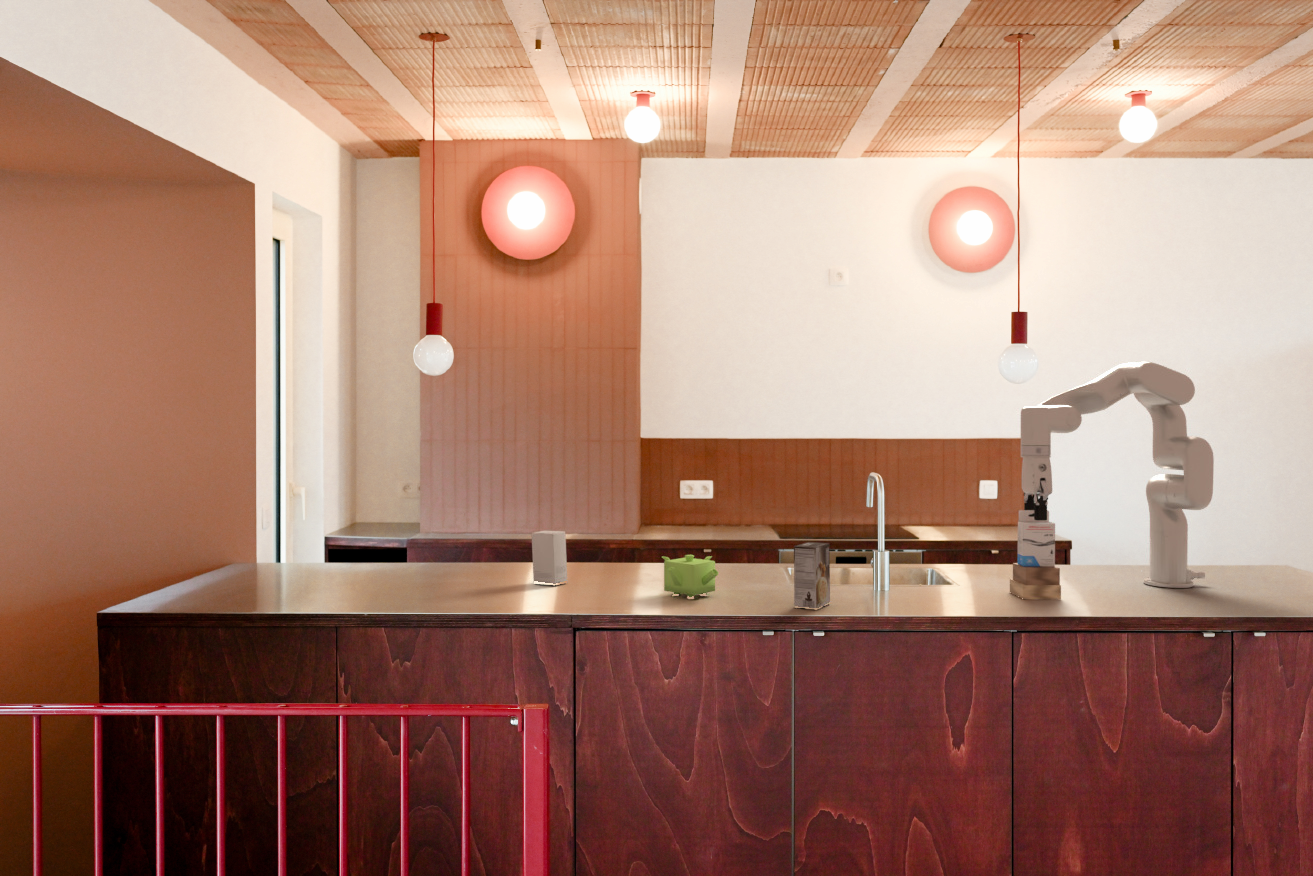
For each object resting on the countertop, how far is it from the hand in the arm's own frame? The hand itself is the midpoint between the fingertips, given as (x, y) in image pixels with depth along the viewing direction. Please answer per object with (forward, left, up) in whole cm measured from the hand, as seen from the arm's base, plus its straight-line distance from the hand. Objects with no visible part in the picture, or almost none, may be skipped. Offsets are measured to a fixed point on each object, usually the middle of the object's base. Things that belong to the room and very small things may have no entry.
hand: (1035, 518), depth 254 cm
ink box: (0, 0, -13) cm, 13 cm away
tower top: (0, 0, -17) cm, 17 cm away
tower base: (0, 0, -22) cm, 22 cm away
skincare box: (+134, -21, -21) cm, 137 cm away
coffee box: (+62, +13, -21) cm, 67 cm away
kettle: (+93, -3, -21) cm, 96 cm away
